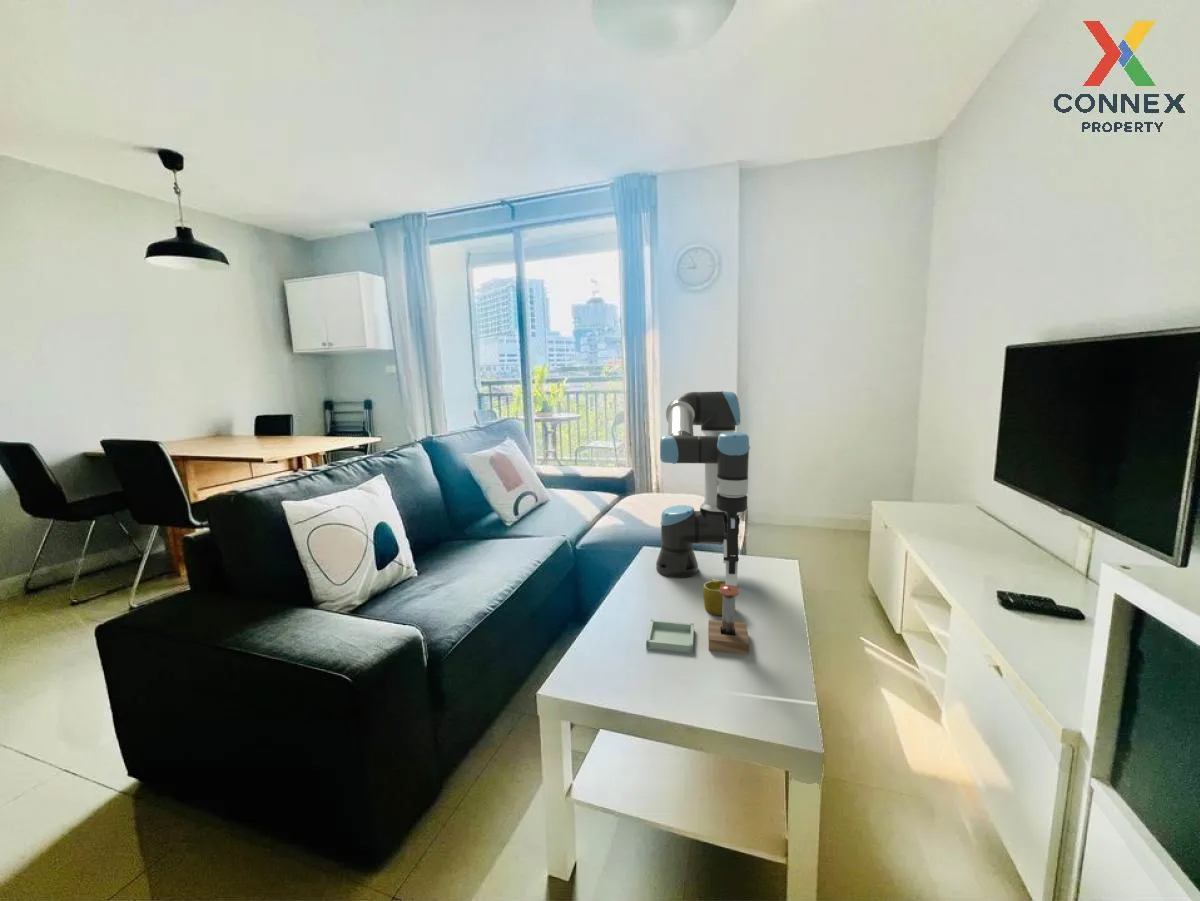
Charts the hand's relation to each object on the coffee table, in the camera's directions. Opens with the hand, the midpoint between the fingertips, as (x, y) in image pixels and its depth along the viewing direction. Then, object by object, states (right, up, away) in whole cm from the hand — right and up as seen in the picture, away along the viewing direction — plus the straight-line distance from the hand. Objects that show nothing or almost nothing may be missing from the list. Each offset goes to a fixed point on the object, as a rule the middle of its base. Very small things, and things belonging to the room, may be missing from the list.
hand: (729, 573), depth 121 cm
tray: (-15, -20, +5) cm, 25 cm away
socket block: (0, -20, +4) cm, 20 cm away
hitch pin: (0, -19, +3) cm, 19 cm away
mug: (+3, -17, +22) cm, 28 cm away
